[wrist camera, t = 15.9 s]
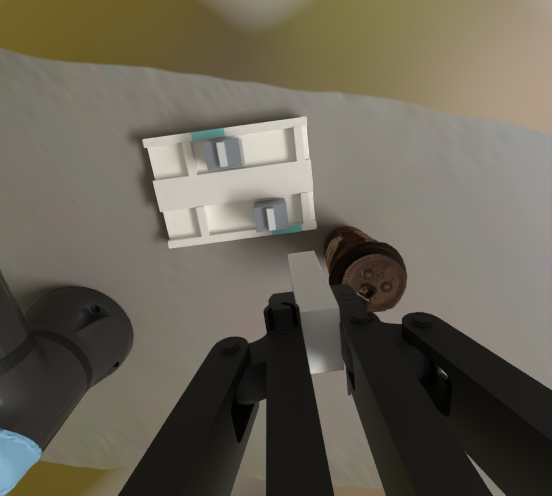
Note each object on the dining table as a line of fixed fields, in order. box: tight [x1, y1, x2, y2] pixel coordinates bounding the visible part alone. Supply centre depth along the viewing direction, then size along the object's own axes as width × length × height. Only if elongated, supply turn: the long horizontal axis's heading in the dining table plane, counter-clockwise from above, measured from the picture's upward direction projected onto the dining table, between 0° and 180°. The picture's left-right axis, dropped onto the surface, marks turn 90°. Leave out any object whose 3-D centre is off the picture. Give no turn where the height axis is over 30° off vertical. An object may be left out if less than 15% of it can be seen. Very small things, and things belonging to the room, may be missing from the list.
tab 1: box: [203, 138, 245, 171], centre depth 37 cm, size 4×3×5 cm
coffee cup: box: [324, 227, 407, 312], centre depth 39 cm, size 9×8×13 cm
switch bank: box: [142, 117, 317, 248], centre depth 41 cm, size 20×14×3 cm
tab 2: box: [253, 198, 289, 233], centre depth 39 cm, size 4×3×5 cm
